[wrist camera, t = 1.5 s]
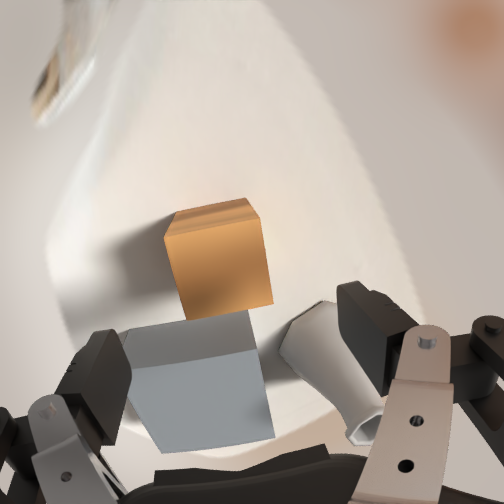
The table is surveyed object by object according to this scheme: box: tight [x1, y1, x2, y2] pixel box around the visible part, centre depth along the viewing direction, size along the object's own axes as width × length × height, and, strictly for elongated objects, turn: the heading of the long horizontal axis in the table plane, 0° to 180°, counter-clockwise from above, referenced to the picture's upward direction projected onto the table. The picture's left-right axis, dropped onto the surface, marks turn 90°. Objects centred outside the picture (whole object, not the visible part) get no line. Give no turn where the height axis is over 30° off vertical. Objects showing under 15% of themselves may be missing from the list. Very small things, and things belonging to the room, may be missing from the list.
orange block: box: [164, 198, 274, 321], centre depth 18 cm, size 4×4×6 cm
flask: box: [278, 301, 385, 446], centre depth 20 cm, size 7×7×10 cm
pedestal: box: [123, 310, 275, 453], centre depth 21 cm, size 9×9×5 cm
